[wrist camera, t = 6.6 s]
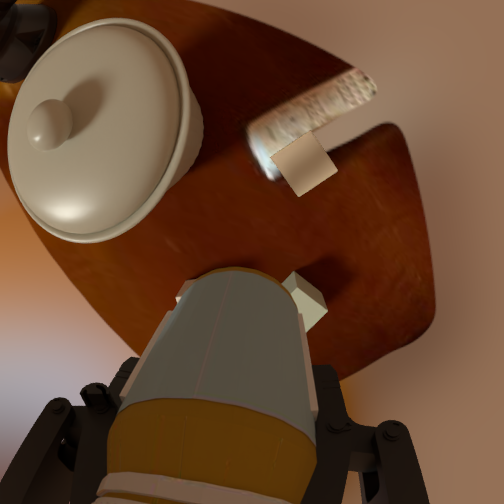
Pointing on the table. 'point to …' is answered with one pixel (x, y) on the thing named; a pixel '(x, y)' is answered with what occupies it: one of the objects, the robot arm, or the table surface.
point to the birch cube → (304, 163)
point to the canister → (102, 130)
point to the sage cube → (306, 299)
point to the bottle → (218, 402)
